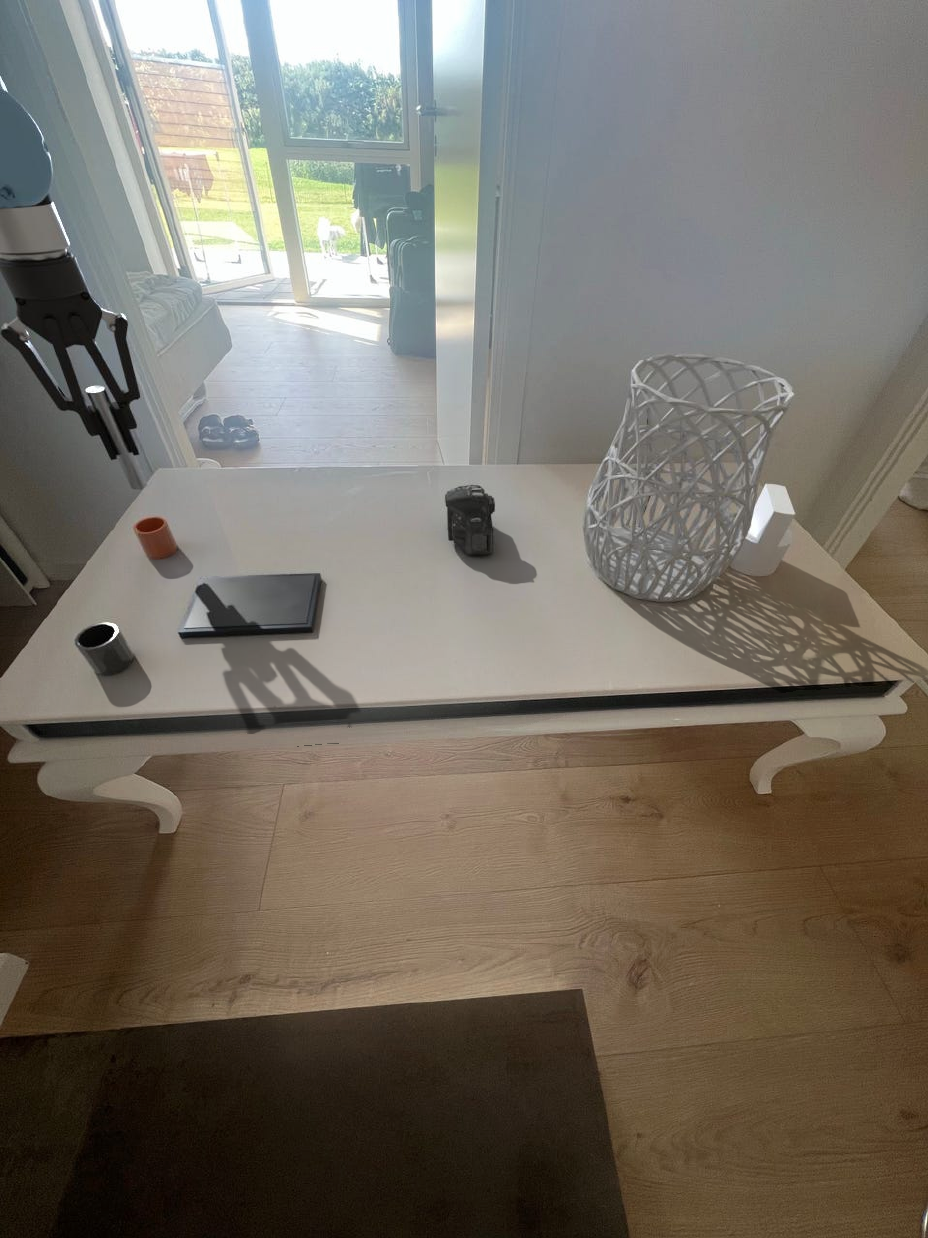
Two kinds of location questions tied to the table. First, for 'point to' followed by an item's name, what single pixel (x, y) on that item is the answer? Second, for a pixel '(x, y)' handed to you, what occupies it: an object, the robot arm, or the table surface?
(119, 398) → the robot arm
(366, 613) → the table surface
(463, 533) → the camera
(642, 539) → the vase
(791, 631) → the table surface
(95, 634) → the pen stand
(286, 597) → the tablet
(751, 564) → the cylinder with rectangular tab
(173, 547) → the pen cup
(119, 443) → the silver metal rod
